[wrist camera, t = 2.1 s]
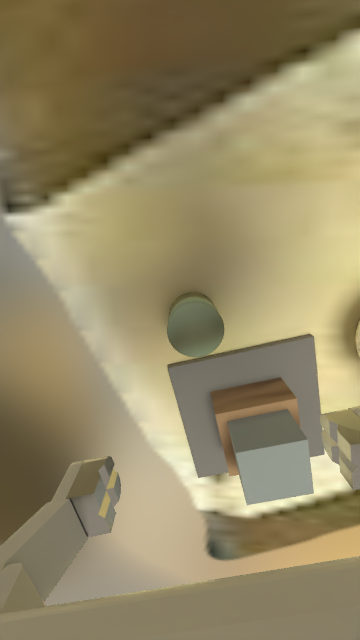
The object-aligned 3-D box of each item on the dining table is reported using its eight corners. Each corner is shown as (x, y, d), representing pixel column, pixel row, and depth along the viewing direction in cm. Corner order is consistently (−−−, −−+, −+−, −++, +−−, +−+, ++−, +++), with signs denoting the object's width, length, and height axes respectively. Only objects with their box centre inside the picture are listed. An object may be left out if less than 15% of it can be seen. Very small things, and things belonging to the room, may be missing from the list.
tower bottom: (210, 391, 28) (215, 414, 25) (280, 377, 28) (296, 398, 24) (223, 447, 31) (229, 476, 27) (288, 434, 30) (304, 462, 26)
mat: (168, 365, 28) (167, 368, 28) (310, 334, 27) (313, 336, 26) (198, 472, 33) (198, 477, 32) (321, 449, 32) (324, 454, 31)
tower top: (227, 420, 25) (235, 453, 21) (287, 409, 24) (307, 439, 21) (237, 467, 26) (246, 505, 23) (294, 456, 26) (313, 493, 22)
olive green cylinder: (164, 298, 26) (160, 310, 21) (211, 287, 26) (218, 297, 21) (175, 341, 28) (174, 362, 23) (220, 331, 27) (228, 350, 22)
